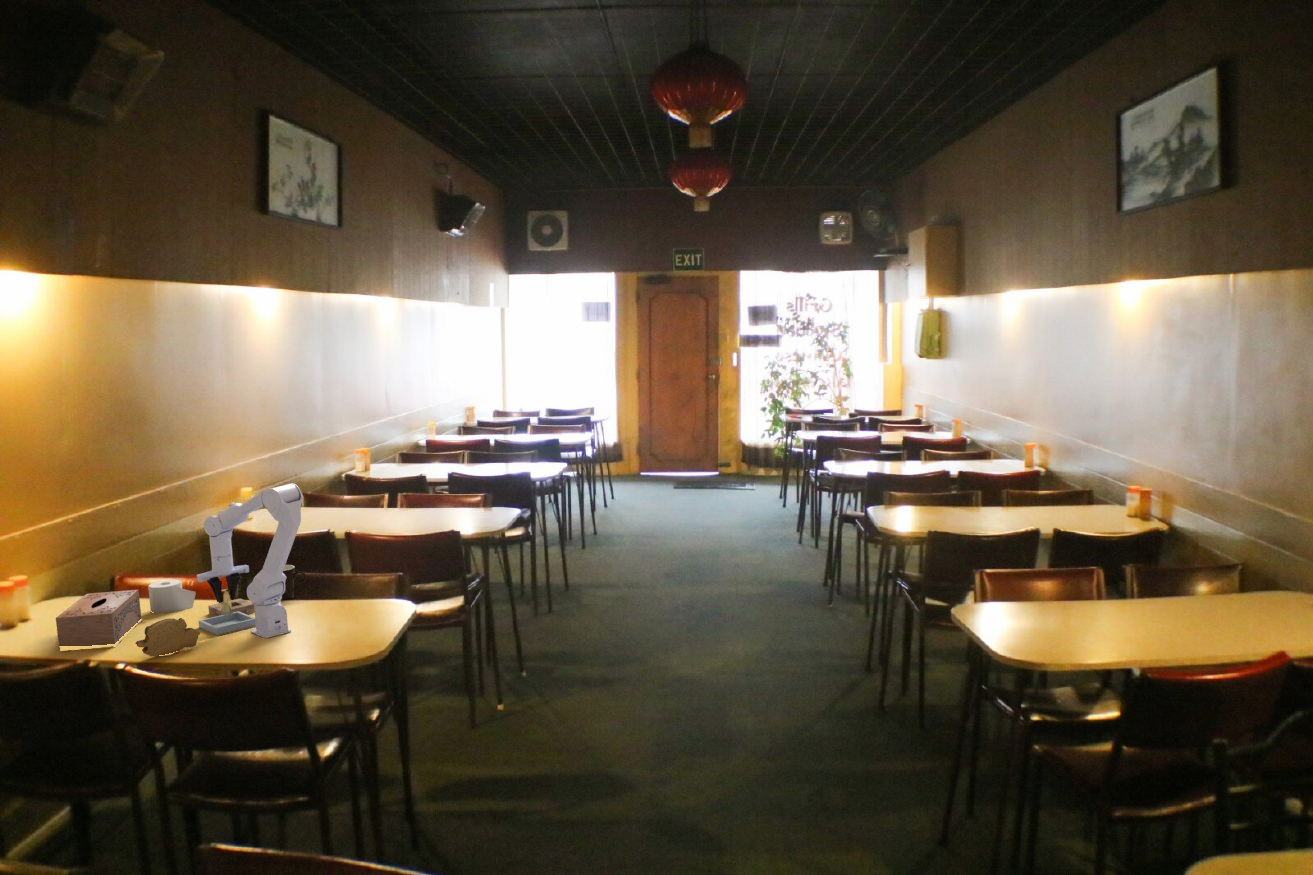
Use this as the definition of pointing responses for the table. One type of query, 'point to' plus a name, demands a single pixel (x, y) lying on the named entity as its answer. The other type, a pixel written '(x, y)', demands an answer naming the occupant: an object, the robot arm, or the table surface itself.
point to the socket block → (233, 607)
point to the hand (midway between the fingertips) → (225, 600)
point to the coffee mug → (290, 581)
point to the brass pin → (226, 602)
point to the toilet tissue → (169, 596)
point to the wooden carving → (168, 637)
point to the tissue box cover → (99, 618)
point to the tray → (227, 623)
